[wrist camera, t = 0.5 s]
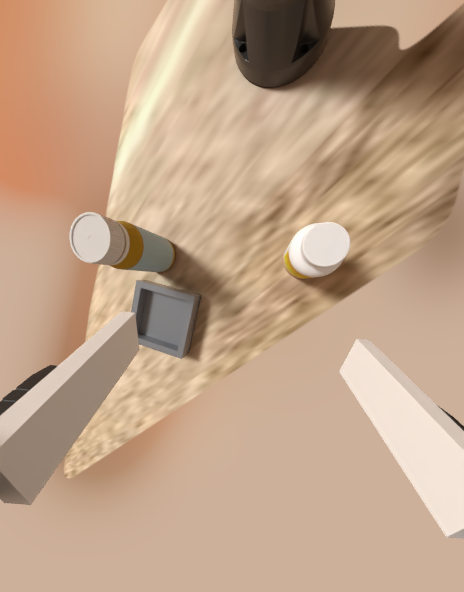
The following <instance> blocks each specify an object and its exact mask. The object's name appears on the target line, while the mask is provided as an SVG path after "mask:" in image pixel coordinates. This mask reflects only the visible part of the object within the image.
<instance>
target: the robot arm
mask: <svg viewBox="0 0 464 592" xmlns="http://www.w3.org/2000/svg"><path fill="white" fill-rule="evenodd" d="M334 7H335V0H234V12H233V24H232V37H233V45H234V52H235V58H236V62H237V65H238V67H239V69H240V71H241V73H242V74H243V75H244V76H245V77H246V78H247V79H248V80H249V81H250V82H252V83H254V84H256V85H259V86H262V87H278V86H282V85H286V84H288V83H290V82H292V81H294V80H296V79H298V78H299V77H301V76H302V75H303V74H304V73H306V72H307V71H308V70H309V69H310V68H311V67H312V65H313V64H314V63H315V62H316V60H317V59H318V58H319V56H320V54H321V53H322V51H323V49H324V47H325V44H326V42H327V39H328V35H329V31H330V27H331V22H332V19H333V14H334ZM139 350H140V349H139V341H138V333H137V325H136V317H135V313H132V312H124V311H121V312H120V313H119V314H118V315H116V316H115V317H114V318H113V319H112V320H111V321H109V322H108V323H107V324H106V325H105V326H104V327H103V328H101V329H100V330H99V331H98V332H97V333H96V334H94V335H93V336H92V337H91V338H90V339H89V340H87V341H86V342H85V343H84V344H83V345H82V346H80V347H79V348H78V349H77V350H76V351H75V352H74V353H72V354H71V355H70V356H69V357H68V358H67V359H65V361H63V362H62V363H61V364H60V365H58V366H54V365H50V366H48V367H46V368H44V369H42V370H41V371H39V372H37V373H35V374H33V375H32V376H30V377H29V378H28V379H27V380H25V381H24V382H23V383H22V384H21V385H19V386H18V387H17V388H16V390H13V391H12V392H11V393H9V394H8V395H7V396H5V397H4V398H3V400H2V401H1V402H0V499H1V500H2V501H3V502H4V503H14V504H26V505H31V504H32V503H33V501H34V500H35V498H36V497H37V495H38V494H39V493H40V491H41V490H42V488H43V487H44V485H45V484H46V483H47V481H48V480H49V478H50V477H51V475H52V474H53V473H54V471H55V470H56V468H57V467H58V465H59V464H60V463H61V461H62V460H63V458H64V457H65V455H66V454H67V453H68V451H69V450H70V448H71V447H72V445H73V444H74V443H75V441H76V440H77V438H78V437H79V436H80V434H81V433H82V431H83V430H84V428H85V427H86V426H87V424H88V423H89V421H90V420H91V418H92V417H93V416H94V414H95V413H96V411H97V410H98V408H99V407H100V406H101V404H102V403H103V401H104V400H105V398H106V397H107V396H108V394H109V393H110V391H111V390H112V388H113V387H114V386H115V384H116V383H117V381H118V380H119V378H120V377H121V376H122V374H123V373H124V371H125V370H126V368H127V367H128V366H129V364H130V363H131V361H132V360H133V359H134V357H135V356H136V354H137V353H138V351H139ZM339 372H340V374H341V375H342V377H343V378H344V380H345V381H346V383H347V385H348V386H349V388H350V389H351V391H352V392H353V394H354V395H355V397H356V398H357V400H358V401H359V403H360V405H361V406H362V408H363V409H364V411H365V412H366V414H367V415H368V417H369V418H370V420H371V421H372V423H373V425H374V426H375V428H376V429H377V431H378V432H379V434H380V435H381V437H382V439H383V440H384V442H385V443H386V445H387V446H388V448H389V449H390V451H391V452H392V454H393V455H394V457H395V459H396V460H397V462H398V463H399V464H400V466H401V468H402V469H403V471H404V472H405V474H406V475H407V477H408V479H409V480H410V481H411V483H412V485H413V486H414V488H415V489H416V491H417V493H418V494H419V496H420V497H421V499H422V500H423V502H424V503H425V505H426V506H427V508H428V509H429V511H430V512H431V514H432V515H433V517H434V519H435V520H436V522H437V523H438V525H439V526H440V528H441V530H442V531H443V532H444V534H445V535H446V537H451V538H464V426H463V425H461V424H460V423H459V422H458V421H457V420H456V419H455V418H454V417H453V416H451V415H450V414H448V413H447V412H446V411H444V410H443V409H442V408H440V407H439V406H437V405H436V404H435V403H434V402H433V401H432V400H431V399H430V398H429V397H428V396H427V395H426V394H425V393H424V392H422V390H421V389H419V388H418V387H417V386H416V385H415V384H414V383H413V382H412V381H411V380H410V379H409V378H408V377H407V376H406V375H405V374H404V373H403V372H402V371H401V370H400V369H399V368H397V366H395V365H394V364H393V363H392V362H391V361H390V360H389V359H388V358H387V357H386V356H385V355H384V354H383V353H382V352H381V351H380V350H379V349H378V348H377V347H376V346H375V345H374V344H373V343H372V342H370V341H369V340H363V339H357V340H356V341H355V343H354V345H353V347H352V349H351V351H350V353H349V354H348V356H347V358H346V360H345V362H344V364H343V366H342V367H341V369H340V371H339Z"/></svg>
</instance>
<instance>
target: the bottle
mask: <svg viewBox="0 0 464 592" xmlns="http://www.w3.org/2000/svg"><path fill="white" fill-rule="evenodd" d="M69 238H70V244H71V248H72V250H73V252H74V253H75V255H76V256H77V257H78V258H79V259H81V260H82V261H85V262H88V263H92V264H102V265H110V266H112V267H114V268H117V269H125V270H137V271H149V272H164V271H167V270H168V269H169V268H170V267H171V266H172V265H173V263H174V260H175V250H174V247H173V245H172V244H171V242H170V241H168V240H167V239H165V238H163V237H161V236H158V235H156V234H154V233H151V232H149V231H147V230H144V229H142V228H139V227H137V226H135V225H132V224H130V223H127V222H125V221H115V220H112V219H110V218H107V217H105V216H102V215H100V214H97V213H93V212H86V213H83V214H81V215H79V216H78V217H77V218H76V219H75V220H74V222H73V224H72V226H71V229H70V235H69Z"/></svg>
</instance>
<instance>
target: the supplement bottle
mask: <svg viewBox="0 0 464 592" xmlns="http://www.w3.org/2000/svg"><path fill="white" fill-rule="evenodd" d="M349 248H350V237H349V234H348V232H347V231H346V230H345V228H343V227H342V226H341V225H339V224H337V223H333V222H323V223H315V224H311V225H308V226H306V227H304V228H302V229H301V230H300V231H299V232H298V233H297V234H296V235H295V236H294V237H293V239H292V241H291V243H290V244H289V246H288V248H287V249H286V251H285V253H284V256H283V264H284V267H285V269H286V271H287V272H288V273H289V274H290V275H291V276H293V277H296V278H300V279H305V278H314V277H321V276H325V275H328V274H330V273H332V272H333V271H334V270H336V269H337V268H338V267H339V266H340V264H341V263H342V261H343V260H344V258H345V256H346V255H347V253H348V251H349Z"/></svg>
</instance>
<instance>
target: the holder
mask: <svg viewBox="0 0 464 592" xmlns="http://www.w3.org/2000/svg"><path fill="white" fill-rule="evenodd" d="M200 298H201V295H199V294H195V293H191V292H188V291H184V290H180V289H177V288H173V287H169V286H166V285H162V284H158V283H154V282H151V281H147V280H137V281H136V287H135V293H134V299H133V304H132V310H131V312H132V313H135V317H136V325H137V333H138V341H139V344H140V345H143V346H146V347H149V348H152V349H155V350H158V351H160V352H163V353H166V354H169V355H172V356H175V357H178V358H181V359H182V358H183V357H184V356H185V355H187V354H188V353H189V348H190V344H191V339H192V334H193V330H194V325H195V321H196V316H197V311H198V307H199V302H200Z"/></svg>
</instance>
